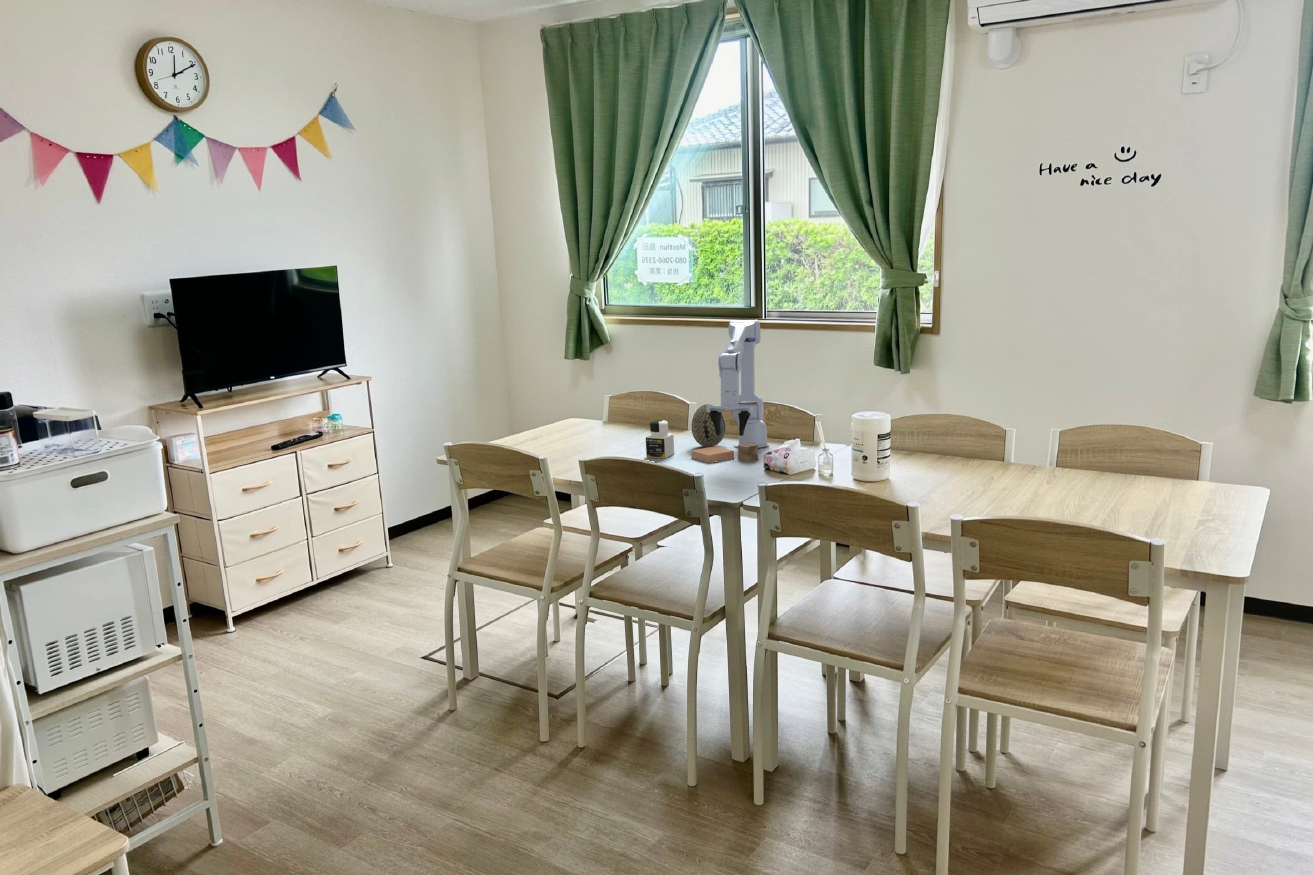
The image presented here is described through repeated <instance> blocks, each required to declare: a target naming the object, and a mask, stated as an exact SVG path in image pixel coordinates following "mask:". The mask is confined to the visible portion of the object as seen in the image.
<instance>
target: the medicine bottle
mask: <svg viewBox="0 0 1313 875" xmlns="http://www.w3.org/2000/svg"><path fill="white" fill-rule="evenodd" d="M649 430H650V431H649V432H650V434H648V435H647V436H645V452H646V453H645V454H646V458H651V459H652V458H653V459H664V460H665V459H668V458H669V457H671V456H673V455H675V442H674V441H675V439H674V433H669V422H668V421H667V420H664V419H657V420H656V419H655V420H652V421H651V422H649Z"/></svg>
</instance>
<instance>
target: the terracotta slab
mask: <svg viewBox="0 0 1313 875" xmlns="http://www.w3.org/2000/svg"><path fill="white" fill-rule="evenodd" d="M734 452H735V450H733V449H729V448H726V447H721V446H719V445H716V446H713V447H703V448H698V449H692V450H691V458H692V459H694V460H698V461H700V460H701V462H704V461H705V462H704V463H707V464H712V463H716V462H715V461H718V462H722V461H721V460H723V461H726V460H727V459H728V460H732V458H733V459H735V453H734Z"/></svg>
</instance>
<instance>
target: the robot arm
mask: <svg viewBox="0 0 1313 875" xmlns="http://www.w3.org/2000/svg"><path fill="white" fill-rule="evenodd" d="M760 323H761V322H760V321H759V320H758V319H743V320H733V319H731V320H730V321H729V323H728V336H729V338H730V341H728V342H727V343H726V346H725V348H724V351H723V353H721V354H720V355H719V356H718V364H717V365H718V371H719V372H718V373H719V377H720V405H713V406H707V412H710V413H709V416H710V418H711V419H712V422H713V424H714V427H715V431H716V435H720V433H721V427H720V423H721V414H722V413H732V416H733V419H734V421H736V423H737V424H738V429H737V430H738V444H733V447H735V448H738V445H741V444H746V443H751V444H755V445H758V449H759V448H764V447H765V446H766V447H769V446H770V445H769V444H768V427H767V424H766V422H765V421H764V420H763V419H764V417H765V416H764V413H765V408H764V399H763V397H761V396H760V395H759V394H757V392H755V391H756V390H755V381H756V380H755V379H756V378H755V348H756V345H757V344H760V342H761V324H760ZM722 415H723V414H722ZM766 447H765V448H766Z"/></svg>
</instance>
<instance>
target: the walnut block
mask: <svg viewBox="0 0 1313 875" xmlns="http://www.w3.org/2000/svg"><path fill="white" fill-rule="evenodd" d="M737 458H738V459H737V460H738V461H741V460H742V461H741V462H744V461H746V462H745V463H749V461H750V462H755V461H759V448H758V445H755V444H751V443H746V444H741V445H738V447H737ZM754 460H755V461H754Z"/></svg>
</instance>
